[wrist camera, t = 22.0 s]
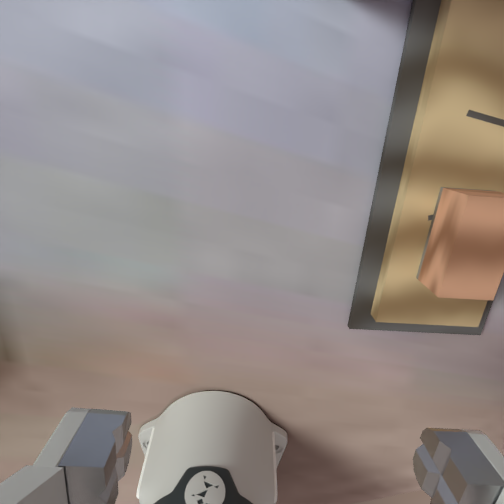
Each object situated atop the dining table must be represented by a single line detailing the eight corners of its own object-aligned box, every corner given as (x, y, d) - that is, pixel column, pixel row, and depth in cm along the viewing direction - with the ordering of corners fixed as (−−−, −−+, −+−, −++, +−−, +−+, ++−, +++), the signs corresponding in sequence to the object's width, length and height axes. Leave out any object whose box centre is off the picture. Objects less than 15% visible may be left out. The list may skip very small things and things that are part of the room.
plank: (476, 331, 38) (490, 343, 35) (347, 325, 37) (353, 337, 35) (611, -38, 26) (643, -52, 24) (424, -56, 25) (440, -73, 23)
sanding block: (464, 280, 33) (493, 300, 29) (416, 277, 33) (438, 297, 29) (494, 190, 30) (530, 199, 26) (440, 186, 29) (469, 195, 26)
